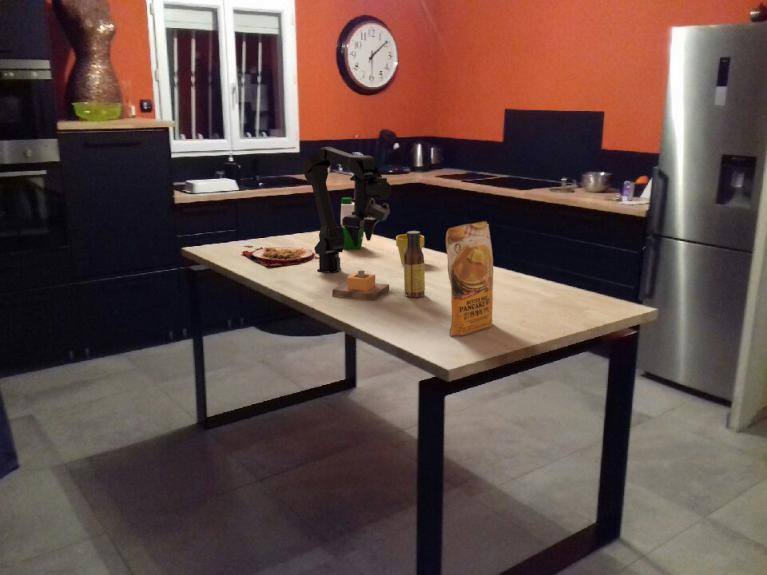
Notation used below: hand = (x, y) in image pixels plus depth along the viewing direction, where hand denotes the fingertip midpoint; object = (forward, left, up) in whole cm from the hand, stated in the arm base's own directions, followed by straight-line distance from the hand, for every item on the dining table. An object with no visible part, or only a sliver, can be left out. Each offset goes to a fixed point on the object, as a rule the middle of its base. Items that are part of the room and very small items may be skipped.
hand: (362, 243), depth 229 cm
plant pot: (+6, +29, -13) cm, 33 cm away
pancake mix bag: (+46, -35, -13) cm, 59 cm away
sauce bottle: (+22, -11, -13) cm, 27 cm away
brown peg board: (+6, -15, -13) cm, 20 cm away
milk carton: (-24, +44, -13) cm, 52 cm away
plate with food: (-41, +19, -13) cm, 47 cm away
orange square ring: (+6, -15, -11) cm, 19 cm away
